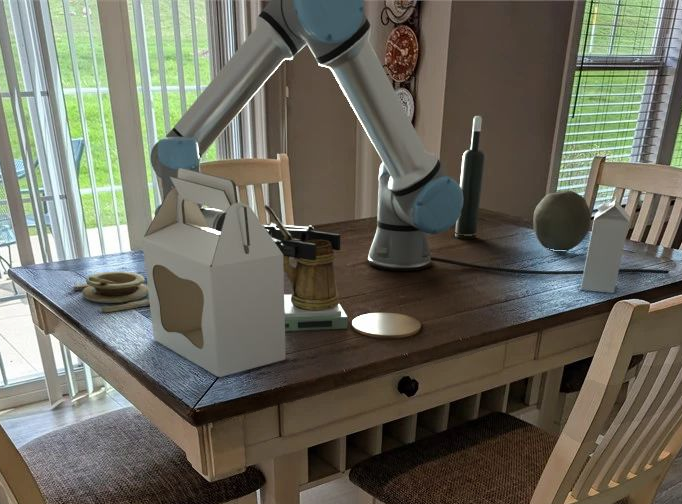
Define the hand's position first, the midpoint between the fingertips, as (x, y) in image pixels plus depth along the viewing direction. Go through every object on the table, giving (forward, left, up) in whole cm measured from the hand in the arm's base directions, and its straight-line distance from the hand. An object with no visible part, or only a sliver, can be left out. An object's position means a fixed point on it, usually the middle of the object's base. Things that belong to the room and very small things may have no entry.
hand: (327, 247), depth 131 cm
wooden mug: (+4, -3, -11) cm, 12 cm away
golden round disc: (-11, +3, -14) cm, 18 cm away
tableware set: (+33, -26, -14) cm, 44 cm away
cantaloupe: (-69, -48, -14) cm, 85 cm away
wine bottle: (-51, -68, -14) cm, 86 cm away
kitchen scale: (+4, -3, -14) cm, 15 cm away
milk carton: (-64, -16, -14) cm, 68 cm away
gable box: (+21, +11, -14) cm, 28 cm away
